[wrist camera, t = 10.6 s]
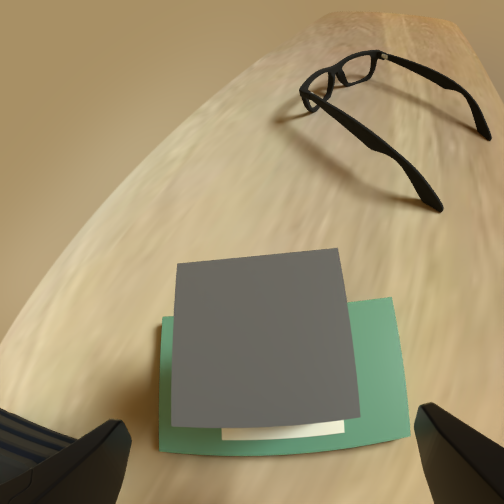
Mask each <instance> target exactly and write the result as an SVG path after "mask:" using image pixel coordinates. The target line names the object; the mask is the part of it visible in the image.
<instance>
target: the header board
mask: <svg viewBox="0 0 504 504" xmlns="http://www.w3.org/2000/svg"><path fill="white" fill-rule="evenodd" d="M347 305H348V312H349V318H350V325H351V332H352V340H353V348H354V356H355V364H356V373H357V382H358V392H359V403H360V415H361V417H360V418H354V419H347V420H340V421H332V422H324V423H315V424H305V425H293V426H279V427H259V428H194V427H174V426H171V380H172V344H173V322H174V316H169V317H163V318H162V334H161V354H160V380H159V451H161V452H170V453H182V454H196V455H218V456H264V455H286V454H300V453H312V452H321V451H330V450H338V449H345V448H352V447H358V446H364V445H370V444H376V443H381V442H386V441H391V440H395V439H400V438H404V437H409V436H411V434H410V421H409V409H408V399H407V390H406V382H405V374H404V366H403V359H402V352H401V346H400V340H399V334H398V328H397V322H396V317H395V311H394V306H393V301H392V297H388V298H380V299H373V300H365V301H357V302H348V303H347Z"/></svg>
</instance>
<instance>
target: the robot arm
mask: <svg viewBox="0 0 504 504" xmlns="http://www.w3.org/2000/svg"><path fill="white" fill-rule="evenodd" d="M414 431H415V435H416V439H417V444H418V448H419V453H420V457H421V462H422V467H423V471H424V474H425V477H426V480H427V483H428V486H429V489H430V492H431V495H432V498H433V501H434V504H504V448H503V447H502V446H500V445H499V444H497V443H495V442H494V441H492V440H491V439H489V438H487V437H486V436H484V435H483V434H481V433H480V432H478V431H476V430H475V429H473V428H472V427H470V426H469V425H467V424H465V423H464V422H462V421H461V420H459V419H458V418H456V417H455V416H453V415H451V414H450V413H448V412H447V411H445V410H444V409H442V408H441V407H439V406H438V405H436V404H435V403H432V402H430V403H426V404H422V405H420V406H419V408H418V411H417V415H416V419H415V423H414ZM131 443H132V440H131V436H130V434H129V432H128V430H127V428H126V426H125V424H124V422H123V421H122V420H118V419H109V420H108V421H106V422H105V423H103V424H101V425H100V426H98V427H97V428H95V429H94V430H92V431H91V432H89V433H88V434H86V435H85V436H83V437H81V438H80V439H78V440H77V441H75V442H74V443H72V444H70V445H69V446H67V447H66V448H64V449H62V450H61V451H59V452H58V453H56V454H54V455H53V456H51V457H49V458H48V459H46V460H45V461H43V462H41V463H40V464H38V465H36V466H35V467H33V468H31V469H29V470H28V471H26V472H24V473H22V474H21V475H19V476H17V477H15V478H13V479H11V480H9V481H7V482H5V483H3V484H0V504H116V501H117V498H118V495H119V492H120V489H121V486H122V483H123V479H124V475H125V471H126V466H127V461H128V457H129V452H130V448H131Z"/></svg>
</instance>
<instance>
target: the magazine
mask: <svg viewBox="0 0 504 504" xmlns="http://www.w3.org/2000/svg"><path fill="white" fill-rule="evenodd" d="M75 441H77V439H74V438H72V437H69V436H66V435H63V434H60V433H57V432H55V431H52V430H49V429H47V428H45V427H42V426H40V425H37V424H35V423H33V422H31V421H28V420H26V419H24V418H22V417H20V416H18V415H15V414H13V413H9V412H7V411H5V410H3V409H1V408H0V484H3V483H5V482H7V481H9V480H11V479H13V478H15V477H17V476H19V475H21V474H22V473H24V472H26V471H28V470H29V469H31V468H33V467H35V466H36V465H38V464H40V463H41V462H43V461H45V460H46V459H48V458H49V457H51V456H53V455H54V454H56V453H58V452H59V451H61V450H62V449H64V448H66V447H67V446H69V445H70V444H72V443H74V442H75Z"/></svg>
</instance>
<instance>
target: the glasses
mask: <svg viewBox="0 0 504 504" xmlns="http://www.w3.org/2000/svg"><path fill="white" fill-rule="evenodd" d="M364 55H370V56H371V67H370V72H369V74H368V75H367V76H366V77H364V78H363V79H361V80H358V81H356V82H353V83H348V82H347V79H346V77H345V74H344V71H343V70H342V67H343V65H344V64H345V63H346V62H348V61H349V60H351V59H354V58H356V57H360V56H364ZM378 59H382V60H385V59H387V60H389V61H391V62H394V63H396V64H398V65H400V66H402V67H405V68H407V69H409V70H411V71H413V72H415V73H417V74H419V75H421V76H423V77H425V78H427V79H429V80H431V81H432V82H434V83H436V84H438V85H439V86H441V87H442V88H444V89H450V90H455V91H457V92H460V93H461V94H462V95H463V96H464V97H465V98H466V100H467V102H468V104H469V106H470V108H471V111H472V114H473V117H474V121H475V124H476V127H477V131H478V132H479V133H480V134H481V135H483V136H484V137H485V138H486V139H487V140H489V141H491V139H492V136H491V133H490V131H489V128H488V126H487V123H486V121H485V119H484V116H483V114H482V112H481V109H480V108H479V106H478V104H477V103H476V101H475V100H474V99H473V98H472V96H471V95H470V94H469V93H468V92H467V91H466V90H465V89H464V88H462V87H461V86H460V85H459V84H457V83H456V82H455V81H453V80H451V79H450V78H448V77H446V76H445V75H443V74H441V73H439V72H437V71H435V70H433V69H430V68H428V67H426V66H423V65H420V64H418V63H415V62H412V61H409V60H407V59H404V58H400V57H397V56H394V55H390V54H386V53H385V52H382V51H380V50H369V51H362V52H358V53H355V54H352V55H350V56H348V57H346V58H344V59H343V60H341V61H340V62H338V63H337V64H335V65H333V66H331V67H327V68H323V69H321V70H318V71H317V72H315V73H314V74H312V75H311V76H310V77H309V78H308V79H307V80H306V81H305V82H304V83H303V85H302V86H301V87H300V89H299V92H300V96H301V97H302V100H303V103H304V106H305V107H306V109H307V110H308V111H310V112H316V111H317V110H318V109H319V108H320V107H321V108H322V109H323V110H324V111H326V112H327V113H328V114H329V115H330V116H332V117H333V118H334V119H335V120H337V121H338V122H339V123H340V124H342V125H343V126H344V127H345V128H346V129H347V130H349V131H350V132H351V133H352V134H353V135H355V136H356V137H357V138H358V139H359V140H360V141H362V142H363V143H364V144H365V145H366V146H367V147H368V148H370V149H372V150H374V151H377V152H380V153H383V154H386V155H388V156H390V157H391V158H393V159H394V160H396V161H397V162H398V163H399V165H400V166H401V167H402V168H403V170H404V171H405V173H406V174H407V176H408V177H409V179H410V181H411V183H412V184H413V186H414V188H415V190H416V192H417V193H418V195H419V197H420V198H421V200H422V202H424V203H425V204H427V205H429V206H431V207H433V208H434V209H436V210H437V211H439V212H442V211H443V209H444V208H443V205H442V203H441V201H440V199H439V198H438V196H437V195H436V193H435V192H434V190H433V189H432V188H431V186H430V185H429V184H428V182H427V181H426V180H425V178H424V177H423V176H422V175H421V174H420V172H419V171H418V170H417V169H416V168H415V167H414V166H413V165H412V164H411V163H410V162H409V161H407V160H406V159H405V158H404V157H403V156H402V155H400V154H399V153H398V152H397V151H396V150H394V149H393V148H392V147H391V146H390V145H389V144H387V143H386V142H385V141H384V140H382V139H381V138H380V137H379V136H377V135H376V134H375V133H374V132H372V131H371V130H369V129H368V128H367V127H365V126H364V125H363V124H361V123H360V122H358V121H357V120H355V119H354V118H353V117H351V116H349V115H348V114H346V113H345V112H343V111H342V110H340V109H338V108H337V107H335V106H333V105H332V104H330V103H328V102H327V100H328V99H329V98H330V97H331V94H332V91H333V88H334V83H335V74H336V76H337V78H338V80H339V81H340V82H341V83H342V84H343V85H345V86H349V87H350V86H352V85H355V84H358V83H361V82H364V81H367V80H369V79H370V78H371V77H372V75H373V73H374V71H375V68H376V63H377V60H378ZM325 72H328V88H327V93H326V95H325V97H324V98H323V99H322V98H320V97H319V96H317V95H315V94H313V92H311V91H309V90H308V88H309V85H310V84H311V83H312V81H313V80H314V79H316V78H317V77H318V76H320V75H321V74H323V73H325ZM309 100H312V101H313V102H314V103H316V104H317V105H316V106H315V107H313V108H312V107H311V105H310V102H309Z"/></svg>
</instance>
